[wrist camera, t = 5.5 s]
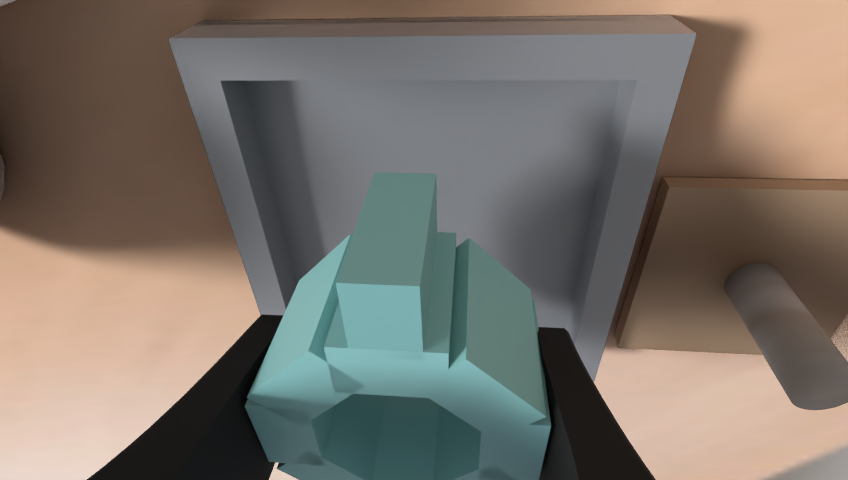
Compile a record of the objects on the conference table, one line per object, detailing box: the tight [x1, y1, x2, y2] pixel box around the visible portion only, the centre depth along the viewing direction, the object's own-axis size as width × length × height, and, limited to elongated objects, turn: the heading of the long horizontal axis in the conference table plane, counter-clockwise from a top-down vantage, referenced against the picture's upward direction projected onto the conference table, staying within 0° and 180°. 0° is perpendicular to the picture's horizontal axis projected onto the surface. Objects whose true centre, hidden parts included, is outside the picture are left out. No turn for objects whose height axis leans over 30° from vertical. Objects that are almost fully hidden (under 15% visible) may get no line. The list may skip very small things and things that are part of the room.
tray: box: [168, 15, 697, 381], centre depth 15 cm, size 12×12×2 cm
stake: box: [614, 177, 848, 410], centre depth 14 cm, size 7×7×5 cm
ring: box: [245, 172, 551, 480], centre depth 10 cm, size 7×6×3 cm
